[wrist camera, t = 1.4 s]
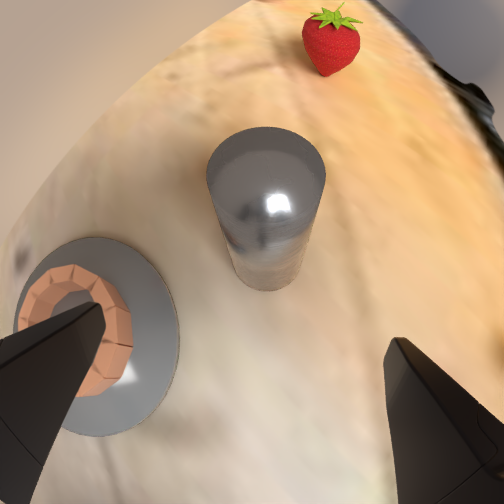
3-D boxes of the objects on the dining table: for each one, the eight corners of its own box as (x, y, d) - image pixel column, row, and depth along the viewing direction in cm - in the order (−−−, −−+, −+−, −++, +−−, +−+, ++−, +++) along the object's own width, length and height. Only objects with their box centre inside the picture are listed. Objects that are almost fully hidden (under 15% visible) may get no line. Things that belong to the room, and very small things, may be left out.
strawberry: (339, 57, 32) (349, -10, 22) (360, 94, 29) (379, 19, 20) (293, 58, 32) (295, -12, 22) (309, 95, 29) (317, 14, 20)
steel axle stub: (288, 300, 22) (306, 240, 11) (222, 277, 23) (186, 201, 12) (309, 239, 23) (336, 144, 13) (247, 219, 24) (233, 117, 14)
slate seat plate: (137, 470, 17) (118, 484, 14) (3, 370, 20) (-22, 367, 17) (213, 281, 22) (204, 266, 19) (63, 220, 25) (43, 203, 22)
